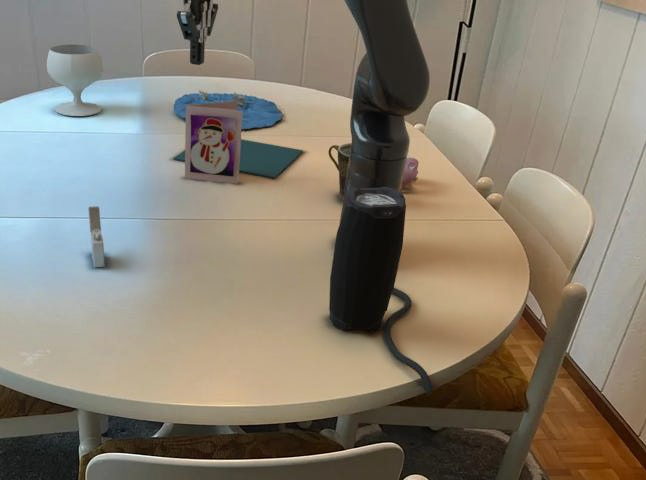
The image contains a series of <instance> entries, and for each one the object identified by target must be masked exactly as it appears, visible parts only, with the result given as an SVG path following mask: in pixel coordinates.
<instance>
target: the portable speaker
mask: <svg viewBox="0 0 646 480" xmlns="http://www.w3.org/2000/svg"><path fill="white" fill-rule="evenodd" d="M347 197H348V198H347ZM346 199H347V203H346V205H345V208H344V212H343V215H342V218H341V221H340V220H339V224H340V225H338V227H337V232H336V236H335V241H334V250H333V255H332V256H333V257H332V263H331V268H330V269H331V270H330V276H329V303H328V304H329V307H328V310H329V320H330V322H331V324H332V326H334V327H335V328H336V329H339V330H341V331H343V332H347V331H349V330H350V329H359V330H360V329H362V330H368V331H369V332H370V333H375V332H377V331H379V329H380V328H381V327H382V324H383V320H384V317H385V315H386V312H387V311H388V308H389V305H390V300H391V297H392V295H393V294H392V292H393V289H394V288H395V283H396V279H397V274H398V269H399V265H400V260H401V256H402V251H403V246H404V238H405V237H404V235H405V224H406V223H405V222H406V210H407V204H406V197H405V195H404V193H403V192H401V191H400V192H399V191H398V190H396V189H392V188H388V187H380V188H354V187H353V188H352V189H350V190H349V192H348V194H347V196H346Z"/></svg>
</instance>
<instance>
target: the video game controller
mask: <svg viewBox="0 0 646 480" xmlns="http://www.w3.org/2000/svg"><path fill="white" fill-rule="evenodd" d="M418 168H419V160H418V159H416V158H414V157H411V156H410V155H409V156H407V160H406V165H405V170H404V174H403V180H402V185H401V190H405V188H406V187H407V186H410V185H411V184H412V183H415V182H417V181H418V175H419V170H418Z"/></svg>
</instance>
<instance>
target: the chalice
mask: <svg viewBox="0 0 646 480" xmlns="http://www.w3.org/2000/svg"><path fill="white" fill-rule="evenodd" d="M46 71H47V73H48V76H49V77H50V78H51V80H53V81H55V82H56V83H58V84H60V85H61V86H64V87H66V88H67V89H68V90H69V91H70V92H71V93H72V96H73V99H72V101H70V102H64V103H60V104H58V105H56V106H55V107H54V112H56V113H58V114H59V115H64V116H71V117H85V116H91V115H96V114H98V113H100V112H102V110H103V109H102V107H101V106H100V105H98V104H96V103H91V102H86V101H83V99H82V93H83V92H84V90H85V89H87V88H88V87H89V86H91V85H93V84H94V83H96V82H97V81H98V80H99V79H101V78H102V76H103V74H104V73H103V72H104V65H103V60H102V56H101V53H100V51H99V50H98V48H96V47H94V46H92V45H85V44H60V45H55V46H52V47H51V48H50V49H49V51H48V54H47V59H46Z"/></svg>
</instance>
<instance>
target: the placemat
mask: <svg viewBox="0 0 646 480" xmlns="http://www.w3.org/2000/svg"><path fill="white" fill-rule="evenodd" d="M303 153H304V150H303V149H298V148H293V147H292V148H291V147H285V146H279V145H276V144H271V143H270V144H269V143H264V142H257V141H252V140H247V139H242V138H241V148H240V165H239V173H241V174H245V175H246V174H247V175H251V176H257V177H261V178H262V177H263V178H267V179H273V180H276V179H277V177H279V176H280V175H281V174H282V173H283V172H284V171H285V170H286V169H287V168H288V167H289V166H290V165H291V164H292V163H293V162H295V160H297V158H299V157H300V156H301V154H303ZM173 160H174V161H179V162H184V163H185V150H182V152H180V153H179V154H177V155H176V156H174V157H173Z"/></svg>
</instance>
